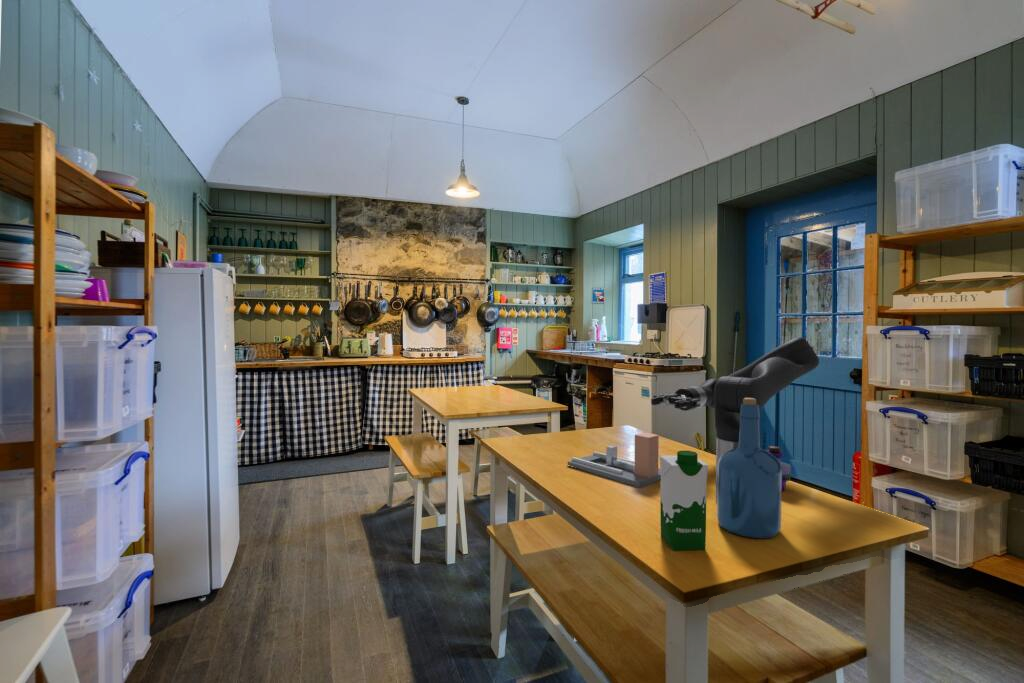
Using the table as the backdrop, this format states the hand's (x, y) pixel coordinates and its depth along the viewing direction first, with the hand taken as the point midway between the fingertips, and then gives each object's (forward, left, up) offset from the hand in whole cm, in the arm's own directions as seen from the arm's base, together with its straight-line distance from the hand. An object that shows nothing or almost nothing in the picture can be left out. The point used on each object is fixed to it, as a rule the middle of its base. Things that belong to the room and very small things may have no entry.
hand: (663, 403), depth 152 cm
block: (-9, +4, -20) cm, 23 cm away
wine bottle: (-35, -24, -22) cm, 48 cm away
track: (-5, +14, -22) cm, 26 cm away
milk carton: (-49, -11, -22) cm, 55 cm away
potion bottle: (-2, -31, -22) cm, 38 cm away
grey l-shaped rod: (-6, +11, -20) cm, 24 cm away
